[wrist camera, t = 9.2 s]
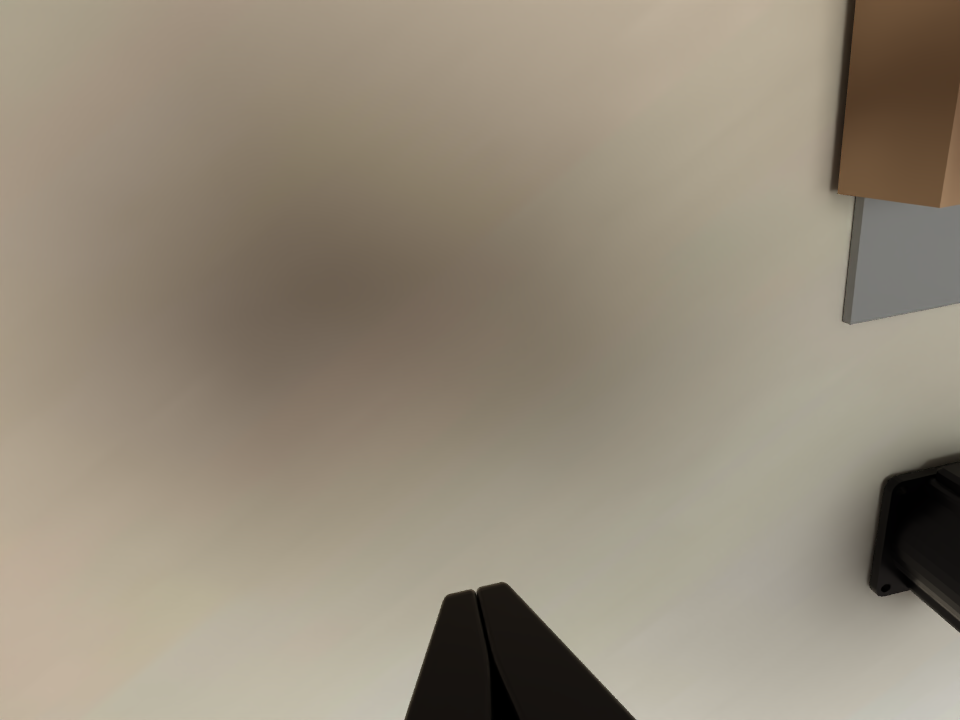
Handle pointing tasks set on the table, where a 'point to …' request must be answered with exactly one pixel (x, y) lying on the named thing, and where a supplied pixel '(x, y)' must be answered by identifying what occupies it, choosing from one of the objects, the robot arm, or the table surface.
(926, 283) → the mat
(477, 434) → the table surface
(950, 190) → the brown green box
